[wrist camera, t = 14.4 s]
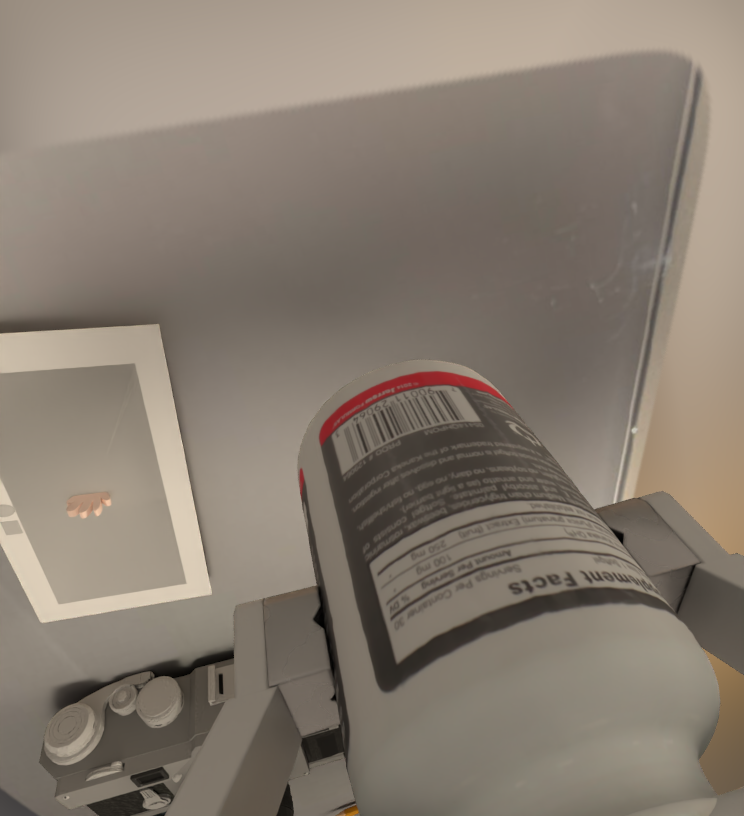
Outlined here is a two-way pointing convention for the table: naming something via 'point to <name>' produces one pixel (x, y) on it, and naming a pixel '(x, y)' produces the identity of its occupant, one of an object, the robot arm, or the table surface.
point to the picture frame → (95, 473)
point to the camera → (151, 742)
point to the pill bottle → (490, 617)
